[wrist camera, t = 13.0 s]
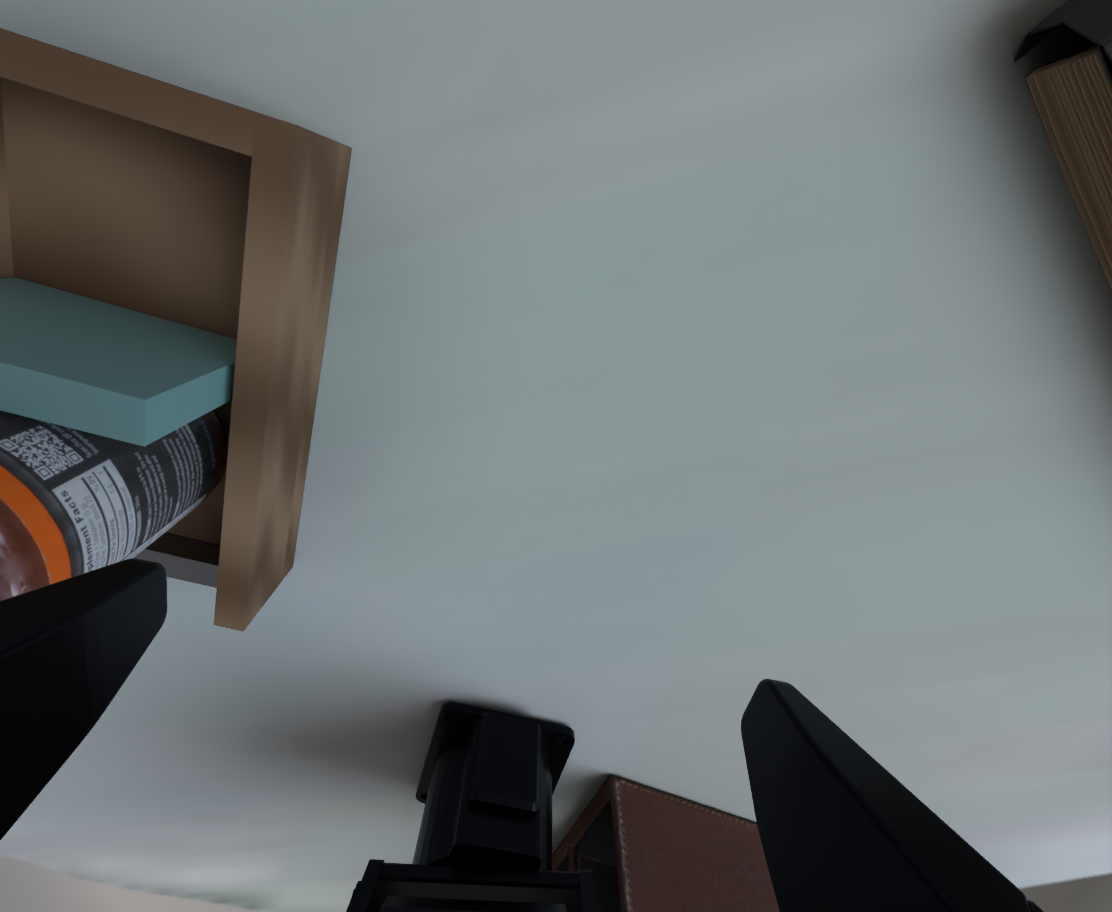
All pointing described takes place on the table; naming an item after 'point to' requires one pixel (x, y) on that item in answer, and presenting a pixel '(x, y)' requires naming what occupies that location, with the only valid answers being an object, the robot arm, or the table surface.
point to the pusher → (106, 365)
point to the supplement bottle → (94, 495)
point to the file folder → (1080, 114)
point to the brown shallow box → (186, 270)
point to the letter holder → (666, 854)
